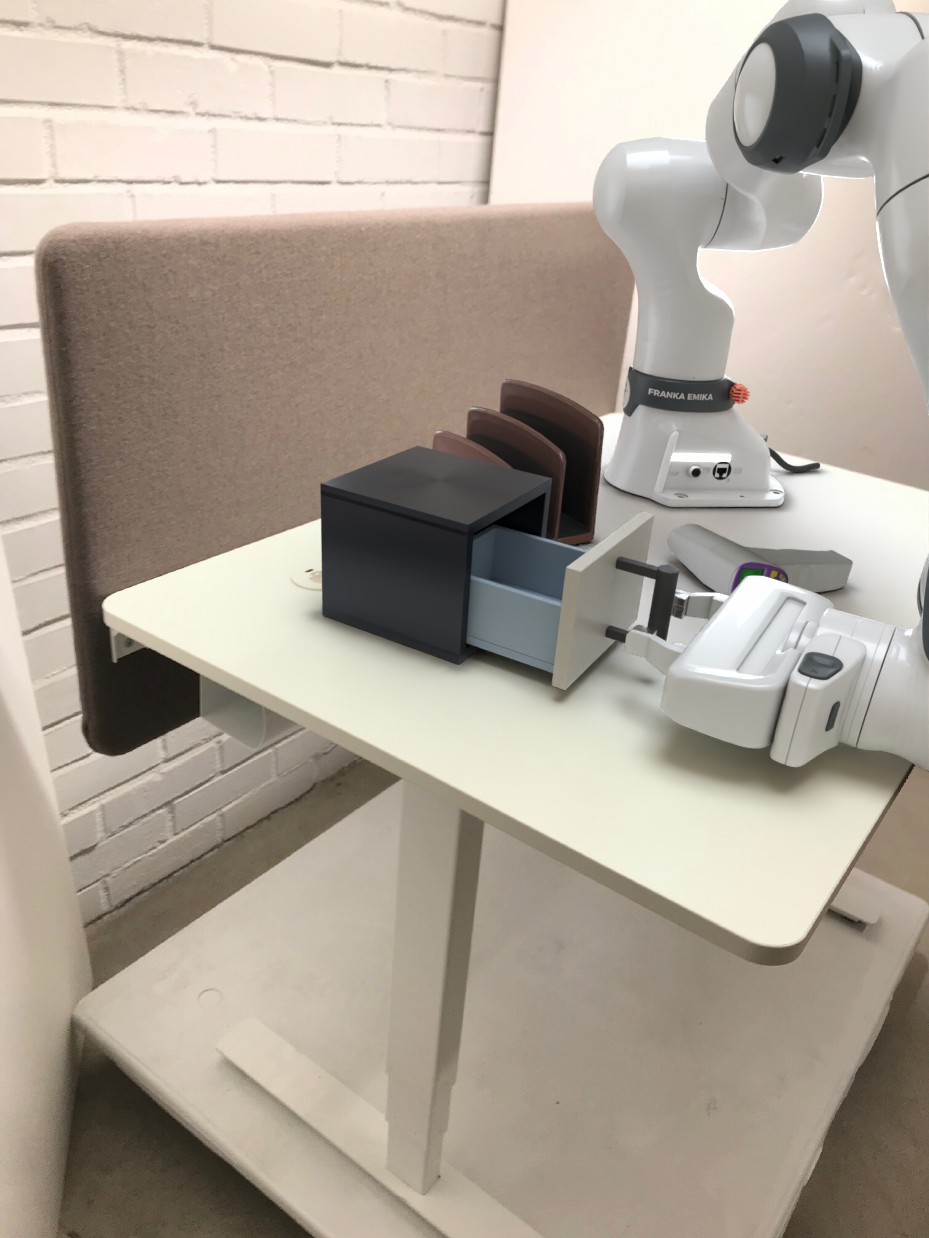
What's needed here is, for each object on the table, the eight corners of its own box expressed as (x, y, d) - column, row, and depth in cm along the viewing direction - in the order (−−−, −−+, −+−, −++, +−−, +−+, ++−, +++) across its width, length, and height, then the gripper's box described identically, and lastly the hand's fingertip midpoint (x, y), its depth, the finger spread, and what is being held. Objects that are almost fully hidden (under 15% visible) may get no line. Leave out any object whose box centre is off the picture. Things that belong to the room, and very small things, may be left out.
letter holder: (499, 484, 112) (508, 369, 105) (594, 543, 97) (612, 412, 90) (427, 493, 107) (432, 374, 101) (515, 556, 92) (528, 420, 86)
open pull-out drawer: (690, 636, 76) (711, 528, 72) (625, 712, 65) (645, 590, 61) (497, 577, 85) (505, 477, 80) (410, 635, 73) (414, 523, 69)
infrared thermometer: (851, 599, 90) (732, 610, 84) (769, 552, 100) (657, 559, 93) (865, 557, 88) (745, 565, 82) (780, 513, 98) (667, 517, 91)
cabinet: (538, 603, 83) (552, 478, 77) (459, 664, 72) (468, 524, 67) (412, 563, 89) (417, 445, 84) (322, 615, 78) (320, 483, 73)
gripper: (870, 583, 70) (698, 539, 76) (811, 698, 54) (600, 631, 60) (849, 654, 73) (685, 606, 79) (787, 782, 57) (589, 710, 63)
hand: (648, 617), depth 70 cm, fingers open, 6 cm apart
